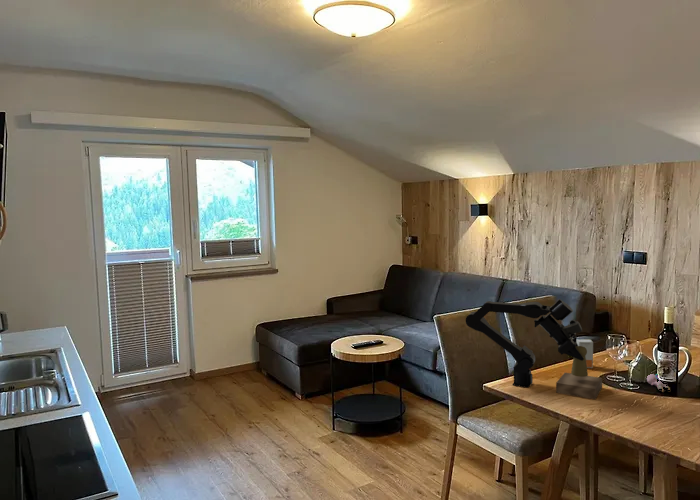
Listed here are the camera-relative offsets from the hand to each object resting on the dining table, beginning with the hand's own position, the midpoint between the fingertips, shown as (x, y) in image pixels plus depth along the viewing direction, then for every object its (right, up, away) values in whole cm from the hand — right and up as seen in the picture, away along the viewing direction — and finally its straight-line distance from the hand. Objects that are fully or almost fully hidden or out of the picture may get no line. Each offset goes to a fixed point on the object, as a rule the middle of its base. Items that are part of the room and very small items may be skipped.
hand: (583, 358), depth 201 cm
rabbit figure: (+30, -12, +4) cm, 33 cm away
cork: (-1, -7, +1) cm, 7 cm away
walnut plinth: (-1, -13, +2) cm, 13 cm away
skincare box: (+14, -10, +30) cm, 34 cm away
